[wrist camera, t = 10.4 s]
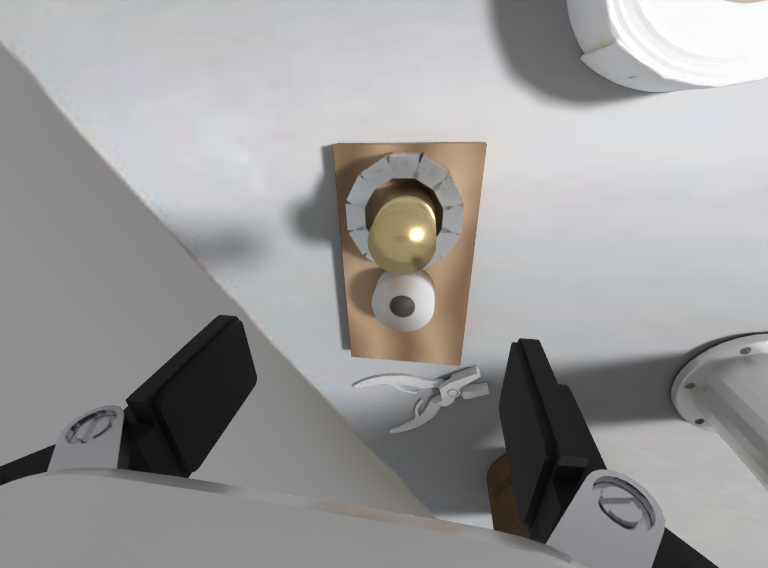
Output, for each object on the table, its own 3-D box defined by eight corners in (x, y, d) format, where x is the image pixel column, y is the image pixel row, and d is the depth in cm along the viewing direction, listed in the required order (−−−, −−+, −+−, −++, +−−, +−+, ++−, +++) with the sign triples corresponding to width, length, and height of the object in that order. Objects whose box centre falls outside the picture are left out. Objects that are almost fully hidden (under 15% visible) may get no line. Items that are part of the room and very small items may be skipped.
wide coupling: (465, 151, 25) (469, 156, 22) (455, 258, 29) (457, 273, 27) (351, 151, 26) (341, 156, 24) (357, 254, 30) (350, 268, 28)
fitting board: (484, 141, 26) (493, 148, 22) (459, 356, 36) (462, 387, 32) (337, 143, 27) (320, 149, 23) (354, 348, 38) (344, 376, 34)
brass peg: (436, 181, 26) (437, 210, 19) (434, 233, 28) (434, 275, 22) (382, 182, 27) (365, 209, 20) (384, 232, 29) (369, 273, 22)
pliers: (350, 390, 40) (466, 351, 34) (353, 380, 41) (465, 342, 36) (390, 440, 43) (501, 412, 38) (392, 430, 44) (499, 402, 39)
